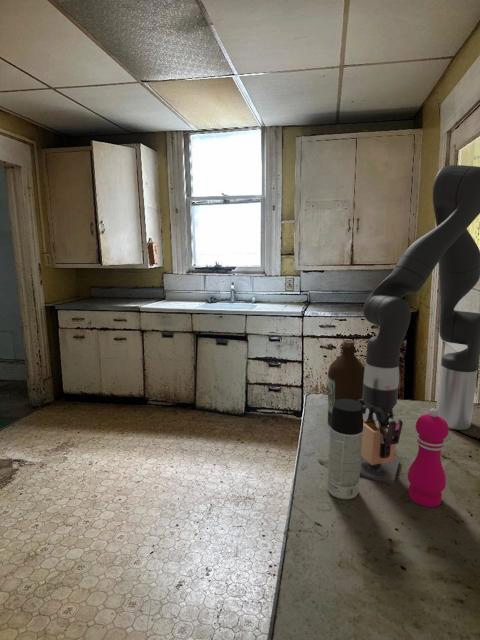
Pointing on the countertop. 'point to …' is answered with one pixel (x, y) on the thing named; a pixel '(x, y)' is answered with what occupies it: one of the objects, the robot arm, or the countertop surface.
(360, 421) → the spray can
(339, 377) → the olive oil
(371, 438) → the duct sleeve
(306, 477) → the countertop surface
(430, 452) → the pepper mill
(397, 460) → the flange
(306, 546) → the countertop surface
